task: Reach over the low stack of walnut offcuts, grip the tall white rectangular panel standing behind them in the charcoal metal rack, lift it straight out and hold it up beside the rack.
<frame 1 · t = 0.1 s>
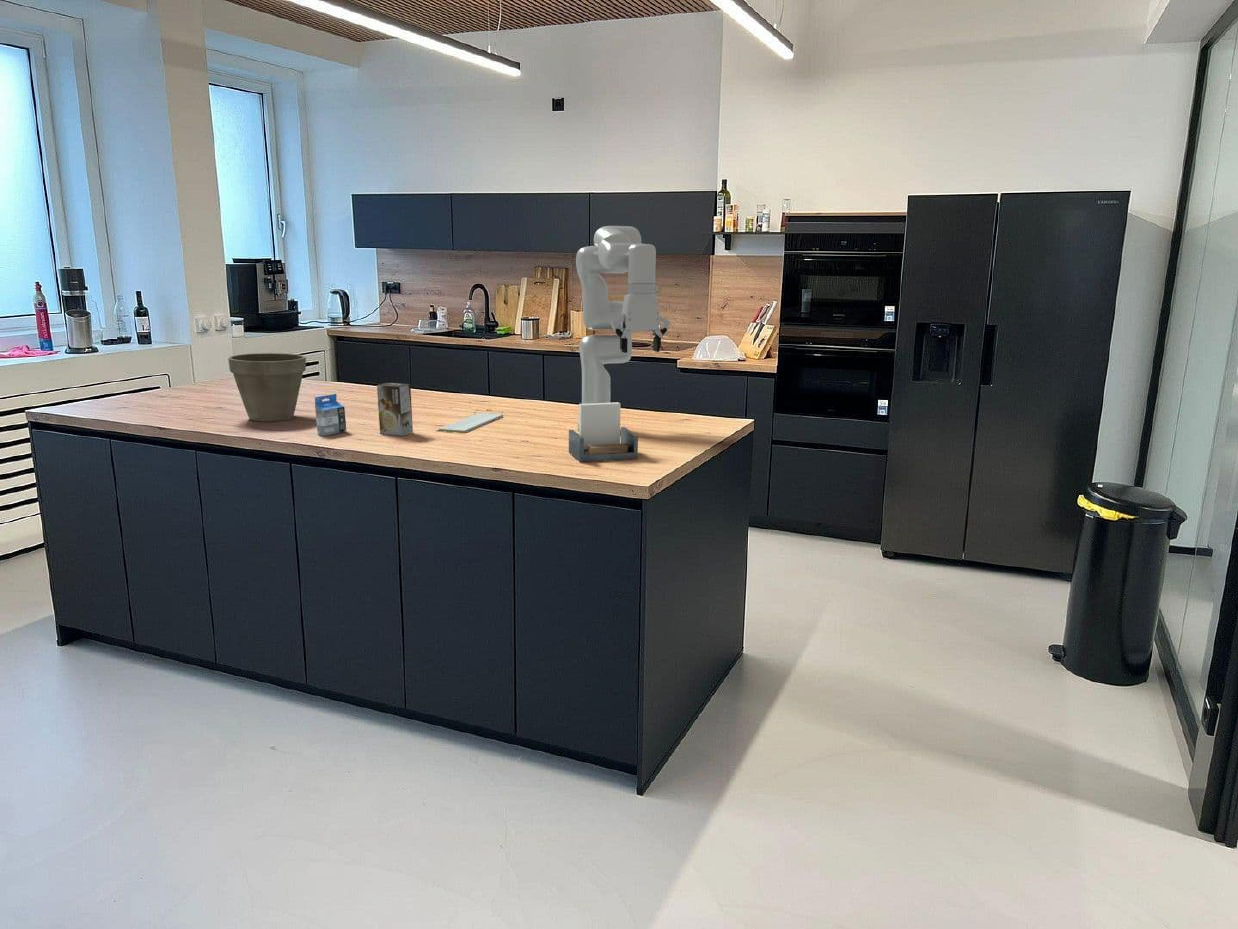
hand: (640, 351, 244), 31 cm above the countertop, tool pointing down, fingers open, 9 cm apart
plant pot: (272, 418, 305), on the countertop
white rectangular panel: (599, 453, 258), resting in offcut rack
label tape box: (332, 434, 281), on the countertop
baseboard molding: (468, 425, 300), on the countertop
offcut rack: (602, 455, 255), on the countertop
offcut stack: (604, 459, 253), resting in offcut rack
coffee box: (396, 433, 282), on the countertop
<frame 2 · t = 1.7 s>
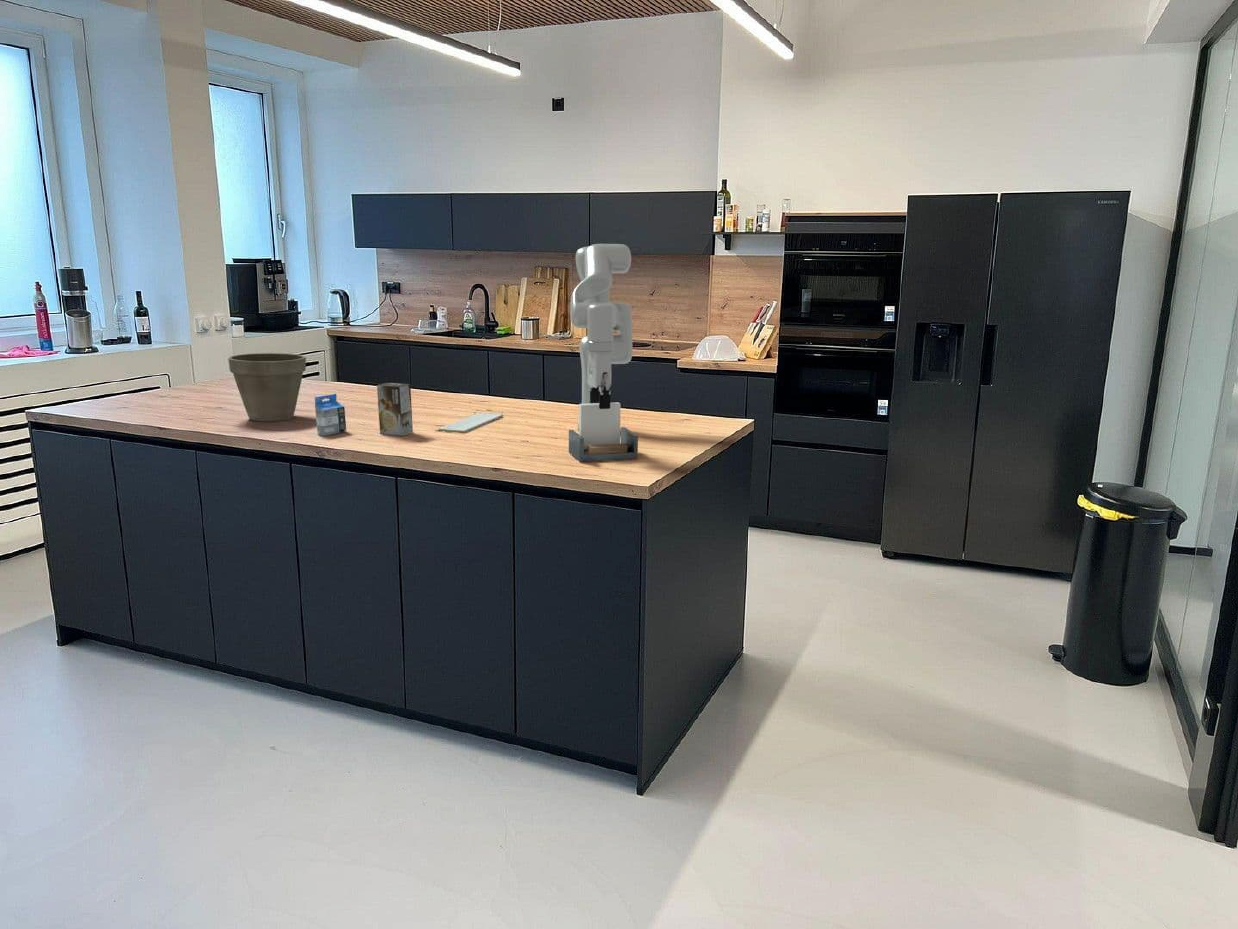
hand: (599, 406, 254), 14 cm above the countertop, tool pointing down, fingers open, 9 cm apart
nothing on the countertop moved.
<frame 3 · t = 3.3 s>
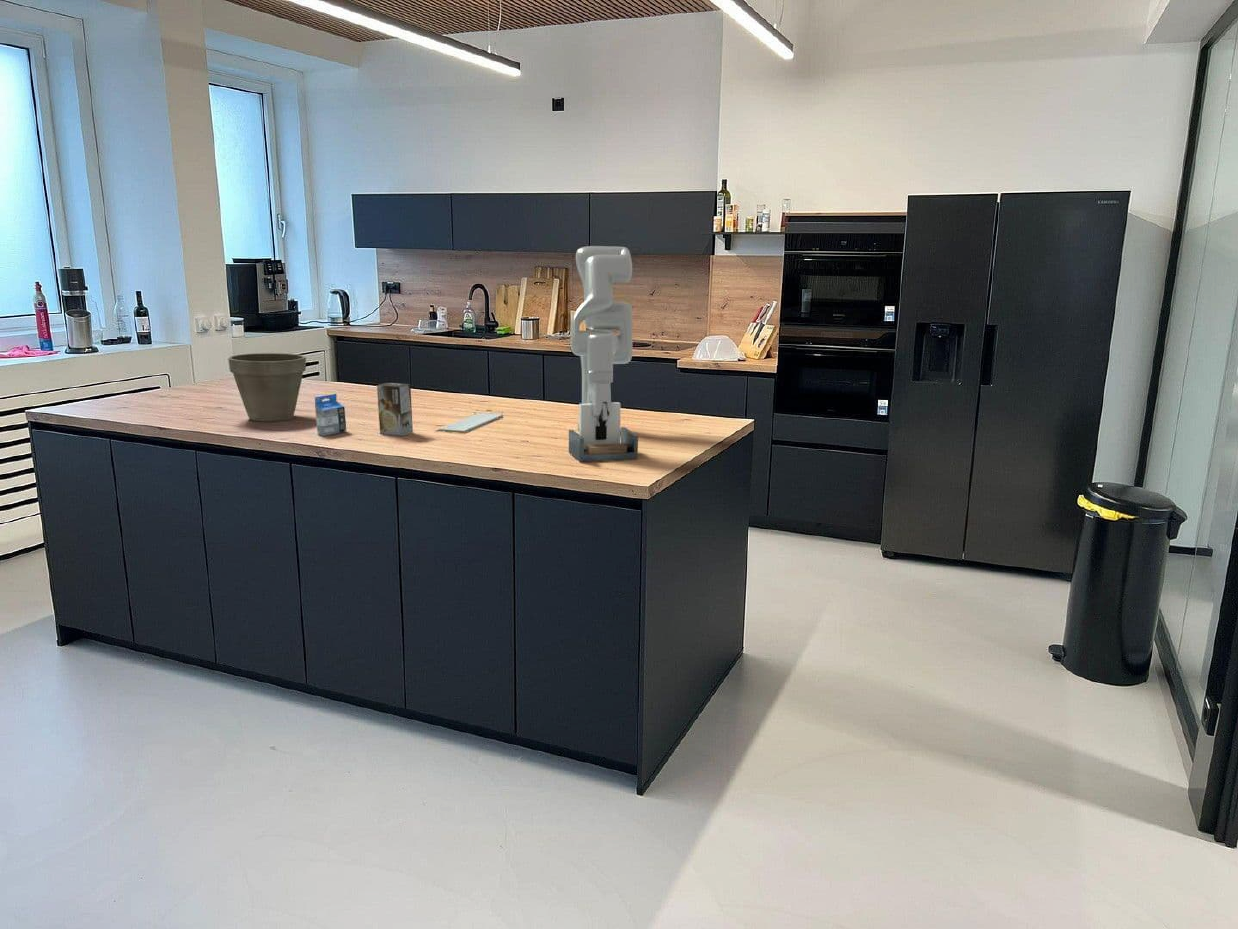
hand: (599, 437, 257), 5 cm above the countertop, tool pointing down, fingers closed on white rectangular panel, 2 cm apart
white rectangular panel: (599, 453, 258), resting in offcut rack, touching gripper
everything else where it was.
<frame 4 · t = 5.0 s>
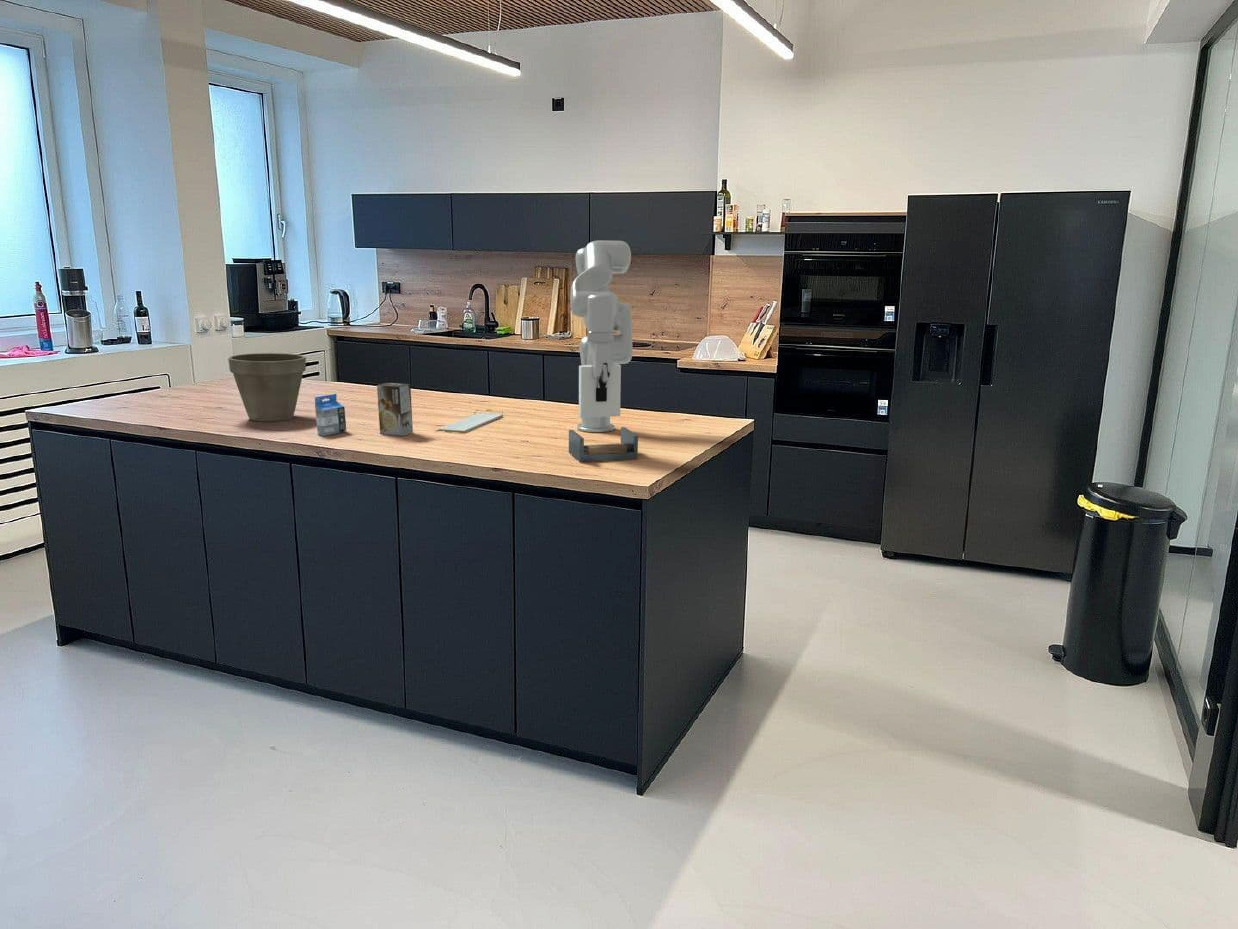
hand: (599, 399, 255), 16 cm above the countertop, tool pointing down, fingers closed on white rectangular panel
white rectangular panel: (599, 416, 256), point 11 cm above the countertop, touching gripper
everything else where it was.
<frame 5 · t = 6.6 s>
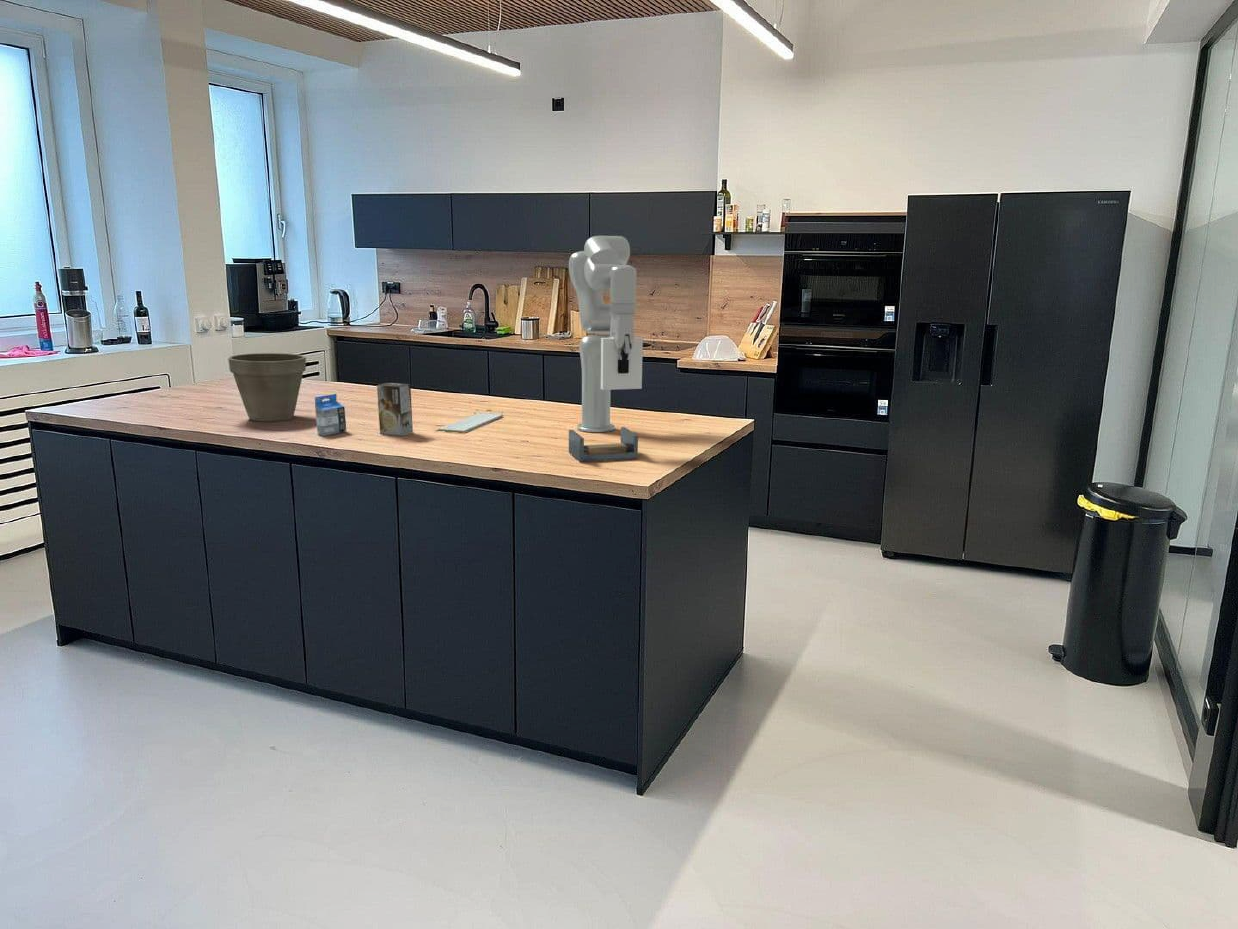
hand: (621, 371, 257), 24 cm above the countertop, tool pointing down, fingers closed on white rectangular panel
white rectangular panel: (621, 388, 258), point 19 cm above the countertop, touching gripper
everything else where it was.
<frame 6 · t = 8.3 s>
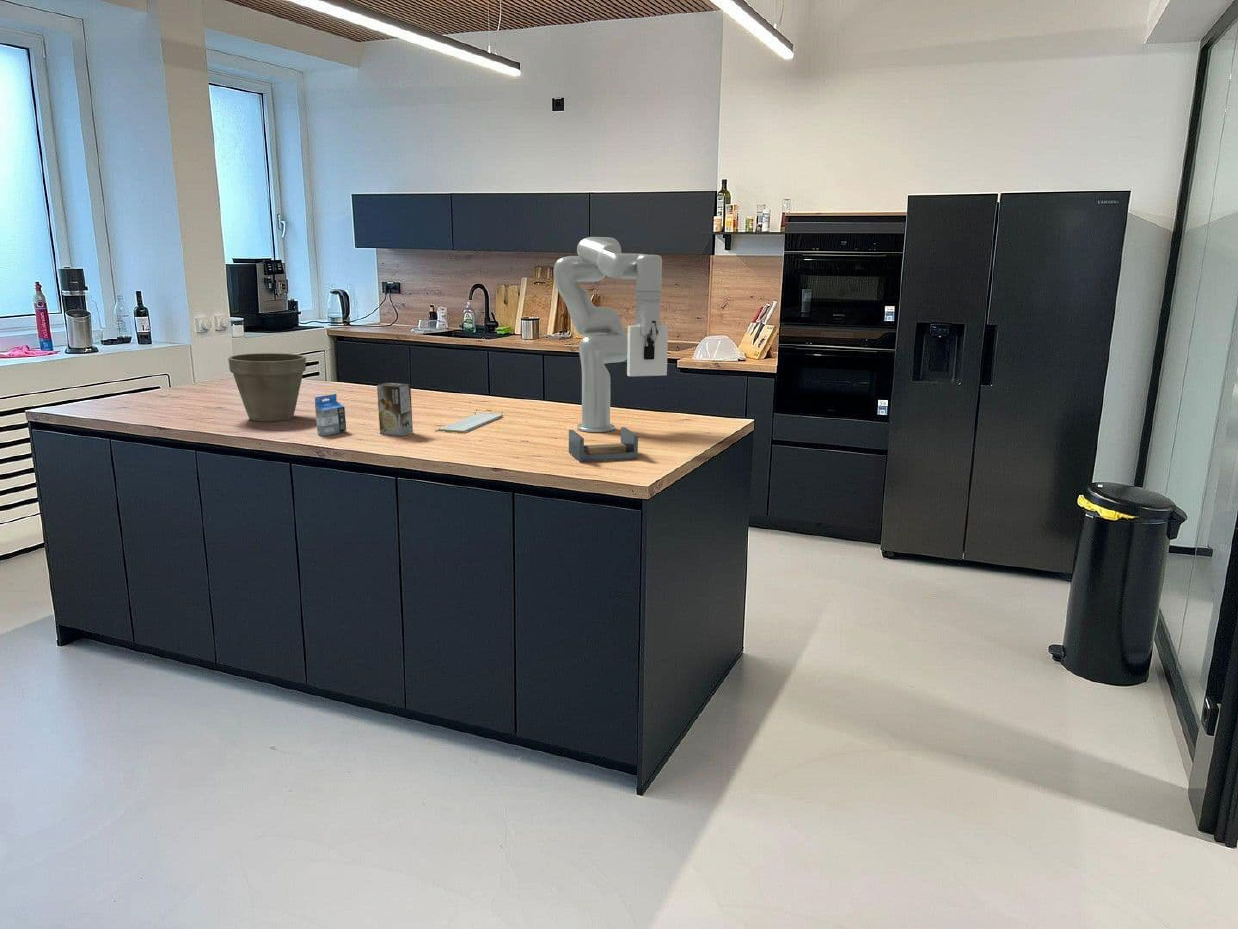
hand: (647, 358, 263), 27 cm above the countertop, tool pointing down, fingers closed on white rectangular panel
white rectangular panel: (646, 375, 264), point 22 cm above the countertop, touching gripper
everything else where it was.
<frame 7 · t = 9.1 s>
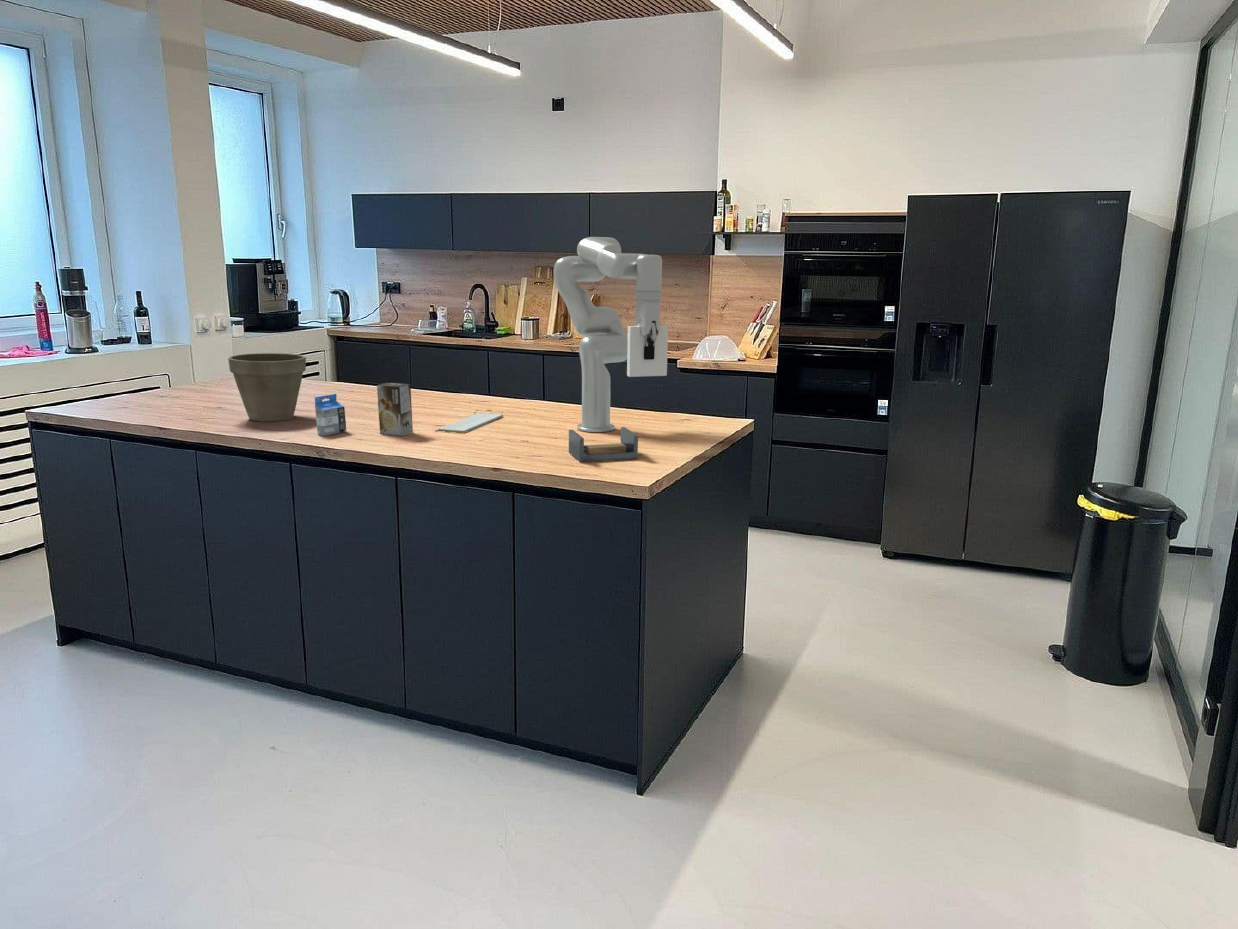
hand: (647, 358, 263), 27 cm above the countertop, tool pointing down, fingers closed on white rectangular panel
white rectangular panel: (646, 375, 264), point 22 cm above the countertop, touching gripper
everything else where it was.
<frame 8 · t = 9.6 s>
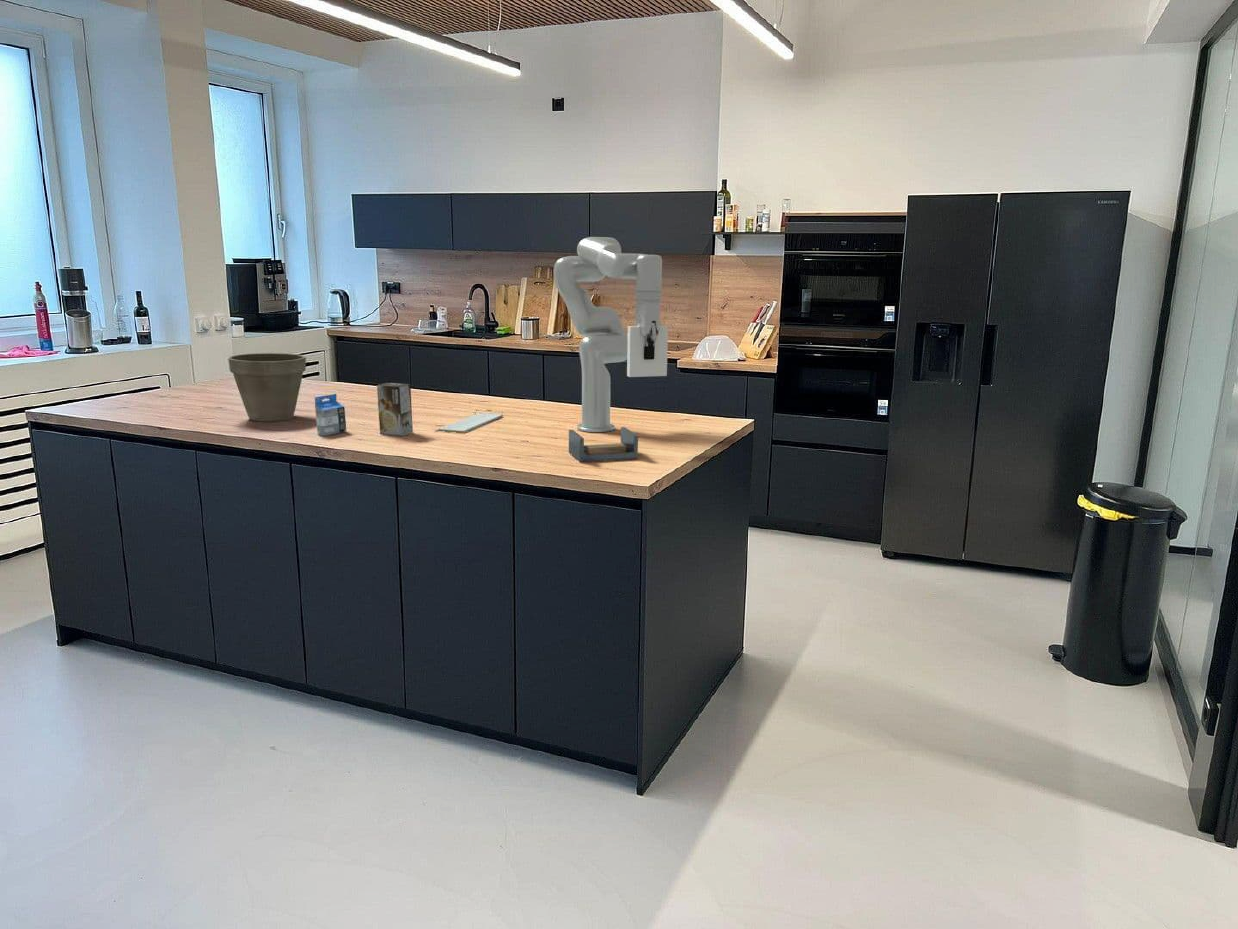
hand: (647, 358, 263), 27 cm above the countertop, tool pointing down, fingers closed on white rectangular panel
white rectangular panel: (646, 375, 265), point 22 cm above the countertop, touching gripper
everything else where it was.
at the end: the gripper is holding white rectangular panel; white rectangular panel inside the target area (0.1 cm from its centre), point 21.7 cm above the countertop; offcut stack moved 0.7 cm from its start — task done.
